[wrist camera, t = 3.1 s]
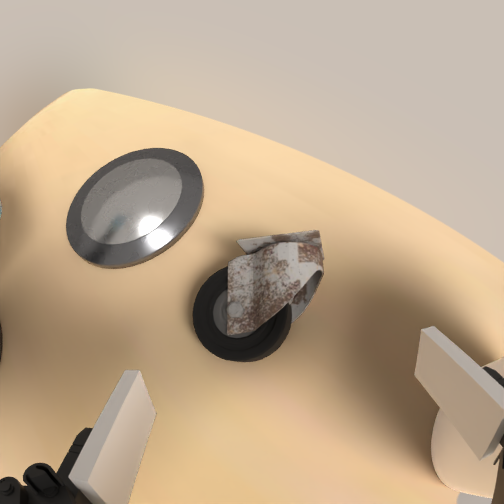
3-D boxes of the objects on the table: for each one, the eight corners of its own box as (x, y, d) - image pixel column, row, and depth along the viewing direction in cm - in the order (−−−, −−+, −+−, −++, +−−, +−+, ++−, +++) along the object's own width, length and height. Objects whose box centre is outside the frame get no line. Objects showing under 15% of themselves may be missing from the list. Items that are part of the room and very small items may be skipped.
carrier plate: (57, 277, 31) (51, 272, 30) (87, 168, 41) (84, 163, 40) (206, 256, 31) (203, 250, 30) (203, 143, 41) (202, 136, 40)
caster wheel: (212, 362, 28) (214, 266, 32) (331, 359, 25) (323, 254, 29) (178, 358, 22) (185, 240, 26) (328, 356, 19) (318, 223, 23)
